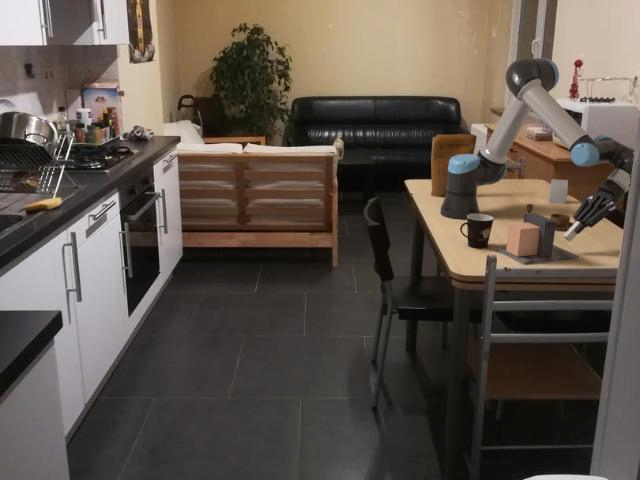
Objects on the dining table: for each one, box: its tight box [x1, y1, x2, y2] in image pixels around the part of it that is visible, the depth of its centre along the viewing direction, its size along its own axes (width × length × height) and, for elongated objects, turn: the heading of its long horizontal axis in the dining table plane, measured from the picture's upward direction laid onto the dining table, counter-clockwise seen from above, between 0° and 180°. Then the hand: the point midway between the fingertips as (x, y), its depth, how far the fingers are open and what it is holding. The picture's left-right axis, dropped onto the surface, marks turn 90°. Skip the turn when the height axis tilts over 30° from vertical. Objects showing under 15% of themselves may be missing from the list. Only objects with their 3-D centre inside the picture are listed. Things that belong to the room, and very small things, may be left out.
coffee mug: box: [459, 213, 495, 250], centre depth 211 cm, size 12×9×10 cm
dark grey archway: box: [523, 212, 556, 258], centre depth 202 cm, size 4×11×12 cm, turn 19°
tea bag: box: [547, 178, 569, 205], centre depth 274 cm, size 4×7×10 cm, turn 80°
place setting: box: [525, 203, 574, 232], centre depth 240 cm, size 18×20×6 cm
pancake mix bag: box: [430, 133, 478, 198], centre depth 277 cm, size 7×19×28 cm, turn 85°
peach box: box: [506, 222, 541, 257], centre depth 201 cm, size 10×6×9 cm, turn 109°
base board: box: [497, 244, 579, 265], centre depth 204 cm, size 20×14×1 cm
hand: (566, 238), depth 207 cm, fingers closed
